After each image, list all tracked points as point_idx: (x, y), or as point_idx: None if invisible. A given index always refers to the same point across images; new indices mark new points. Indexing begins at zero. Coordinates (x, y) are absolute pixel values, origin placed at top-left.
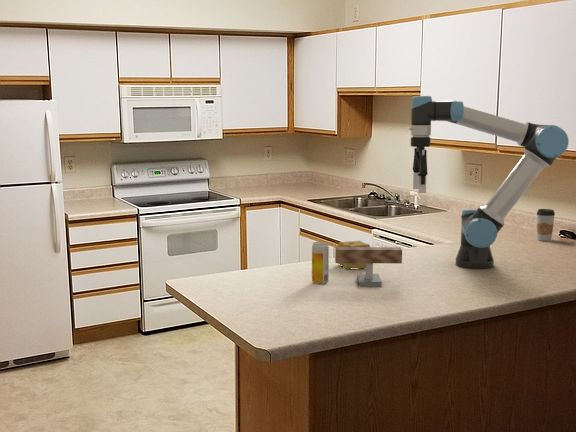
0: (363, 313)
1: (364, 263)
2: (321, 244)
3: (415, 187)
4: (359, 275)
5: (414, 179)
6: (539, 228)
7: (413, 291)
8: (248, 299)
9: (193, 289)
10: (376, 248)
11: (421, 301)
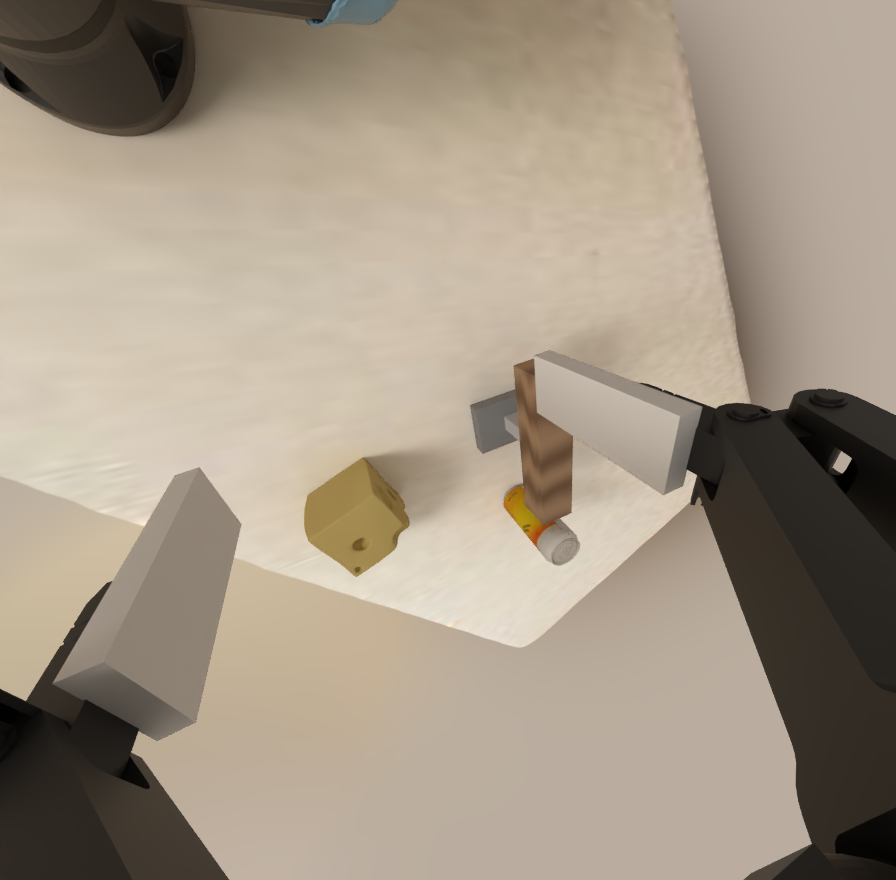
0: (680, 373)
1: (374, 472)
2: (579, 543)
3: (226, 519)
4: (496, 444)
5: (214, 607)
6: None
7: (566, 304)
8: (604, 534)
9: (561, 605)
10: (556, 436)
11: (635, 278)
